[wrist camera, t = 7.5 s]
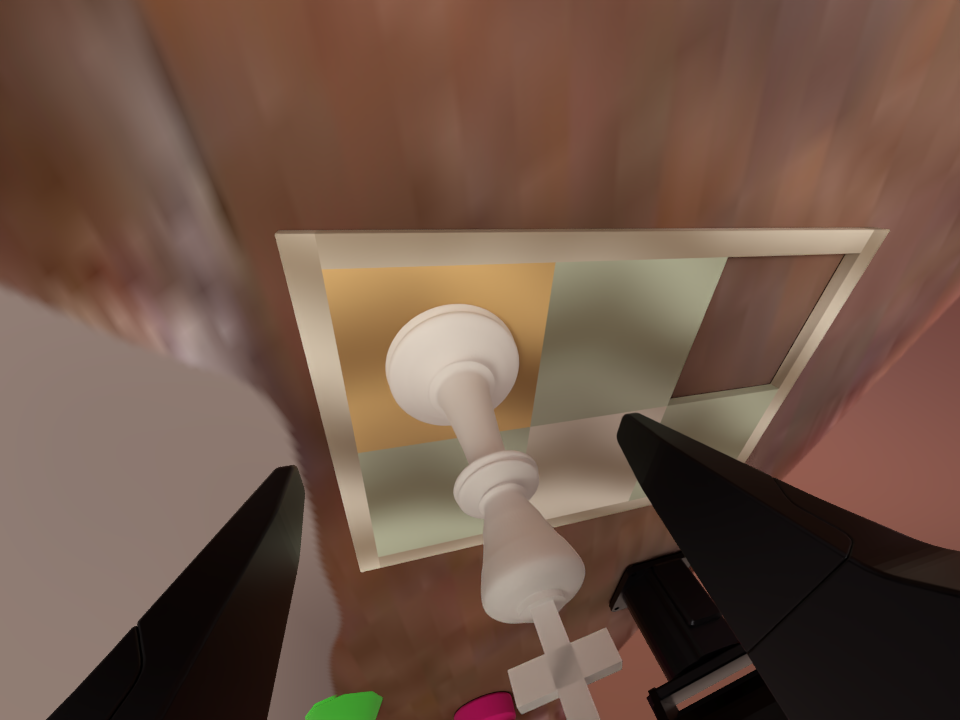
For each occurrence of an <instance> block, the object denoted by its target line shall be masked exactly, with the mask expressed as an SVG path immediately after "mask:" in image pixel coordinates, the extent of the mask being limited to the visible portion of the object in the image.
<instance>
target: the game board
mask: <svg viewBox="0 0 960 720" xmlns="http://www.w3.org/2000/svg"><path fill="white" fill-rule="evenodd" d="M889 231H890V230H889V229H883V228H671V229H459V230H279V231H277V232H276V233H275V237H276V241H277V245H278V249H279V253H280V257H281V261H282V265H283V269H284V273H285V277H286V281H287V285H288V289H289V293H290V296H291V300H292V304H293V308H294V312H295V316H296V320H297V324H298V328H299V332H300V336H301V340H302V344H303V348H304V351H305V355H306V359H307V363H308V367H309V371H310V375H311V379H312V383H313V387H314V391H315V395H316V399H317V403H318V407H319V410H320V414H321V418H322V422H323V426H324V430H325V434H326V438H327V442H328V446H329V450H330V454H331V458H332V462H333V466H334V469H335V473H336V477H337V481H338V485H339V489H340V493H341V497H342V501H343V505H344V509H345V513H346V517H347V521H348V524H349V528H350V532H351V536H352V540H353V544H354V548H355V552H356V556H357V560H358V564H359V568H360V572H364V571H369V570H373V569H377V568H382V567H386V566H390V565H395V564H399V563H403V562H407V561H412V560H416V559H420V558H425V557H429V556H433V555H438V554H442V553H446V552H451V551H455V550H459V549H464V548H468V547H472V546H476V545H481V544H483V527H484V519H479V518H474V517H471V516H469V515H467V514H466V513H464V512H463V511H462V510H461V508H460V507H459V505H458V504H457V502H456V500H455V498H454V494H453V489H454V484H455V482H456V479H457V477H458V476H459V475H460V473H461V472H462V471H463V470H464V469H465V468H466V467H467V466H468V465H469V463H468V461H467V459H466V456H465V454H464V451H463V449H462V447H461V445H460V443H459V441H458V438H457V436H456V434H455V432H454V430H453V428H452V426H440V425H433V424H428V423H425V422H422V421H419V420H417V419H415V418H413V417H412V416H410V415H409V414H407V413H406V412H405V411H404V410H403V409H402V408H401V407H400V406H399V405H398V404H397V402H396V401H395V399H394V397H393V395H392V393H391V390H390V387H389V384H388V381H387V377H386V369H385V365H386V357H387V353H388V350H389V347H390V345H391V343H392V341H393V339H394V338H395V336H396V335H397V333H398V332H399V331H400V330H401V328H402V327H403V326H404V325H405V324H406V323H408V322H409V321H410V320H411V319H413V318H414V317H416V316H417V315H419V314H421V313H423V312H425V311H427V310H429V309H432V308H435V307H438V306H442V305H448V304H468V305H474V306H477V307H481V308H483V309H486V310H488V311H490V312H491V313H493V314H495V315H496V316H497V317H499V318H500V319H501V320H502V321H503V322H504V323H505V324H506V326H507V327H508V329H509V330H510V332H511V334H512V336H513V339H514V342H515V344H516V347H517V350H518V354H519V370H518V375H517V378H516V381H515V383H514V386H513V387H512V389H511V391H510V393H509V394H508V395H507V397H506V398H505V399H504V400H503V401H502V402H501V403H500V404H499V405H498V406H497V407H496V408H495V409H494V412H495V416H496V420H497V424H498V428H499V431H500V435H501V438H502V441H503V444H504V448H505V450H514V451H519V452H523V453H525V454H527V455H529V456H530V457H531V458H533V460H534V461H535V462H536V464H537V467H538V475H539V485H538V488H537V490H536V492H535V494H534V495H533V496H532V498H531V499H530V500H529V502H530V503H531V504H532V505H533V506H534V507H535V508H536V509H537V510H538V511H539V512H540V513H541V514H542V515H543V517H544V518H545V520H546V521H547V522H548V523H549V524H550V525H551V526H552V527H553V528H554V527H558V526H563V525H567V524H571V523H576V522H580V521H584V520H589V519H593V518H597V517H602V516H606V515H610V514H614V513H619V512H623V511H627V510H632V509H636V508H640V507H645V506H649V505H652V504H651V503H650V501H649V499H648V498H647V496H646V495H645V493H644V491H643V490H642V488H641V486H640V485H639V483H638V481H637V479H636V477H635V475H634V473H633V471H632V469H631V467H630V465H629V463H628V461H627V459H626V457H625V455H624V454H623V452H622V450H621V448H620V446H619V444H618V441H617V431H618V428H619V425H620V422H621V419H622V417H623V416H624V415H625V414H628V413H640V414H642V415H644V416H646V417H648V418H650V419H653V420H655V421H657V422H659V423H661V424H663V425H665V426H667V427H669V428H671V429H673V430H676V431H678V432H680V433H682V434H684V435H686V436H688V437H690V438H692V439H694V440H697V441H699V442H701V443H703V444H705V445H707V446H709V447H711V448H713V449H715V450H718V451H720V452H722V453H724V454H726V455H728V456H730V457H732V458H734V459H736V460H739V461H741V462H743V463H745V462H746V460H747V459H748V457H749V455H750V454H751V452H752V451H753V449H754V447H755V446H756V444H757V443H758V441H759V439H760V438H761V436H762V435H763V433H764V431H765V430H766V428H767V427H768V425H769V423H770V422H771V420H772V419H773V417H774V415H775V414H776V412H777V410H778V409H779V407H780V406H781V404H782V402H783V401H784V399H785V398H786V396H787V394H788V393H789V391H790V390H791V388H792V386H793V385H794V383H795V382H796V380H797V378H798V377H799V375H800V374H801V372H802V370H803V369H804V367H805V366H806V364H807V362H808V361H809V359H810V358H811V356H812V354H813V353H814V351H815V350H816V348H817V346H818V345H819V343H820V341H821V340H822V338H823V337H824V335H825V333H826V332H827V330H828V329H829V327H830V325H831V324H832V322H833V321H834V319H835V317H836V316H837V314H838V313H839V311H840V309H841V308H842V306H843V305H844V303H845V301H846V300H847V298H848V297H849V295H850V293H851V292H852V290H853V289H854V287H855V285H856V284H857V282H858V281H859V279H860V277H861V276H862V274H863V273H864V271H865V269H866V268H867V266H868V264H869V263H870V261H871V260H872V258H873V256H874V255H875V253H876V252H877V250H878V248H879V247H880V245H881V244H882V242H883V240H884V239H885V237H886V236H887V234H888V232H889ZM816 254H845V256H844V258H843V260H842V261H841V263H840V265H839V267H838V268H837V270H836V272H835V273H834V275H833V277H832V279H831V280H830V282H829V284H828V285H827V287H826V289H825V291H824V292H823V294H822V296H821V298H820V299H819V301H818V303H817V304H816V306H815V308H814V310H813V311H812V313H811V315H810V317H809V318H808V320H807V322H806V323H805V325H804V327H803V329H802V330H801V332H800V334H799V335H798V337H797V339H796V341H795V342H794V344H793V346H792V348H791V349H790V351H789V353H788V354H787V356H786V358H785V360H784V361H783V363H782V365H781V366H780V368H779V370H778V372H777V373H776V375H775V377H774V379H773V380H772V382H771V384H767V385H760V386H753V387H746V388H739V389H733V390H726V391H719V392H712V393H705V394H699V395H692V396H685V397H678V398H671V396H672V393H673V391H674V388H675V386H676V383H677V381H678V378H679V376H680V374H681V371H682V369H683V366H684V364H685V361H686V359H687V356H688V354H689V352H690V349H691V347H692V344H693V342H694V339H695V337H696V334H697V332H698V330H699V327H700V325H701V322H702V320H703V317H704V315H705V312H706V310H707V308H708V305H709V303H710V300H711V298H712V295H713V293H714V290H715V288H716V285H717V283H718V281H719V278H720V276H721V273H722V271H723V268H724V266H725V263H726V261H727V259H728V257H749V256H783V255H816ZM670 398H671V399H670Z"/></svg>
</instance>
